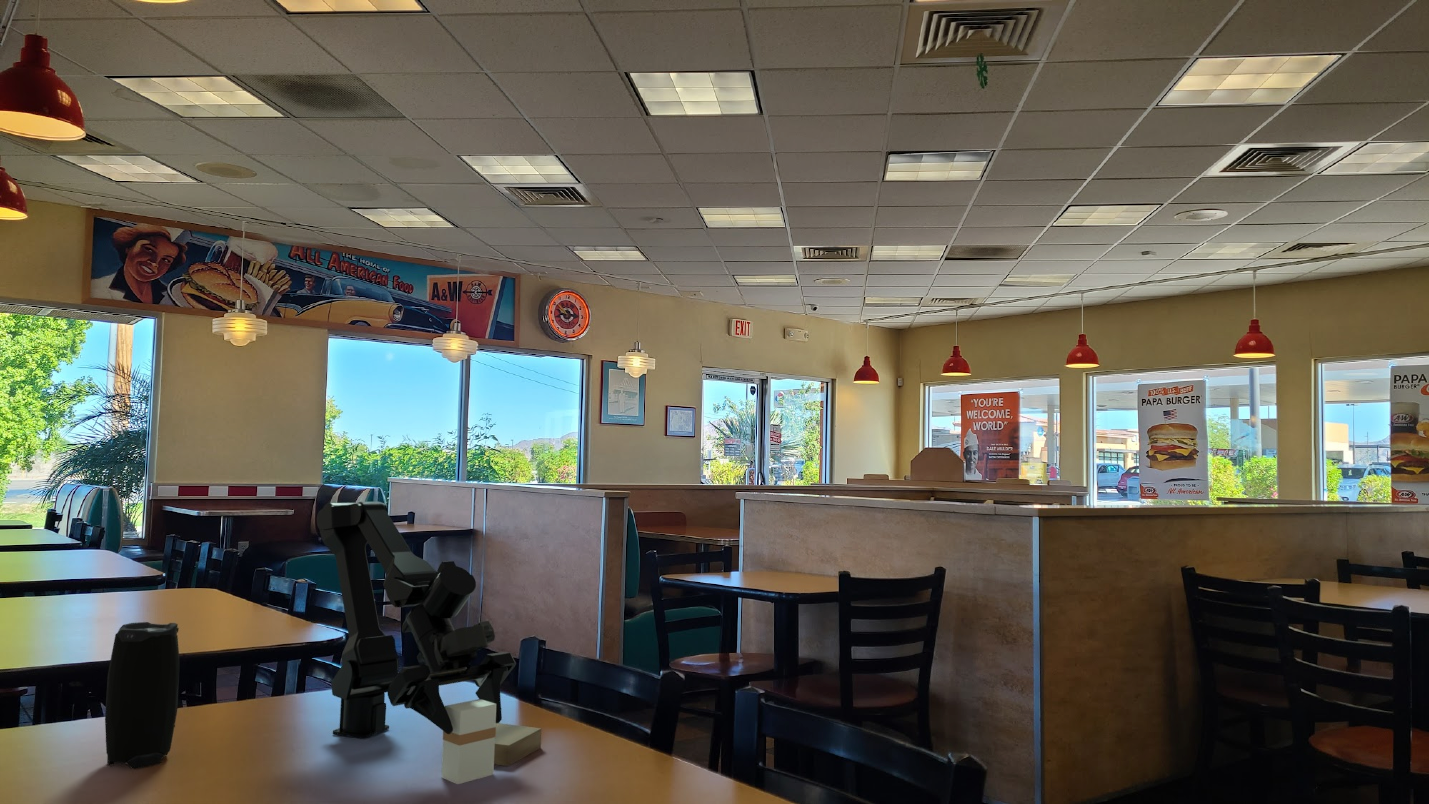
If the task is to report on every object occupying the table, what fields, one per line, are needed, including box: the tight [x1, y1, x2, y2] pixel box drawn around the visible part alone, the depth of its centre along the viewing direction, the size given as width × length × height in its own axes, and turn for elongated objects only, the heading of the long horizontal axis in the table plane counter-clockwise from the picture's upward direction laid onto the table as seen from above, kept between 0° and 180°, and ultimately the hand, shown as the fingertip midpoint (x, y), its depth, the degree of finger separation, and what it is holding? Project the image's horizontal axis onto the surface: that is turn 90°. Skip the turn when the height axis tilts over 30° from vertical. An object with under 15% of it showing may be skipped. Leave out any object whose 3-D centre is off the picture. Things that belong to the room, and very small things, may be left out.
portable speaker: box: [104, 621, 181, 770], centre depth 138 cm, size 9×9×20 cm
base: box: [494, 722, 542, 767], centre depth 146 cm, size 10×10×3 cm
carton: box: [441, 698, 496, 785], centre depth 135 cm, size 4×6×10 cm
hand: (475, 726), depth 135 cm, fingers open, 8 cm apart
